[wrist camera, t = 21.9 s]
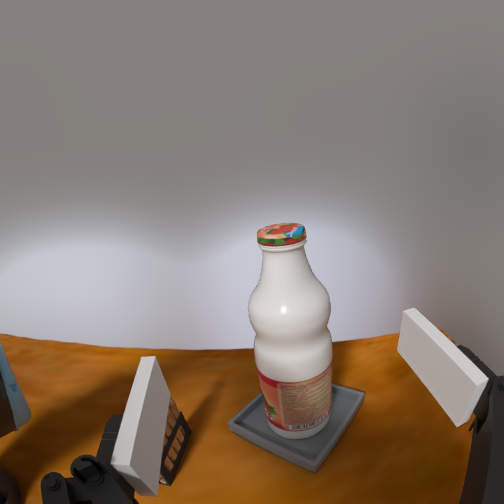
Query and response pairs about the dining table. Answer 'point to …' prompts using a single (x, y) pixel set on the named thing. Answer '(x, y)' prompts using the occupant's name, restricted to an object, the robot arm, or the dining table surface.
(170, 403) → the ammunition clip
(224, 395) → the dining table surface
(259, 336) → the white milk bottle
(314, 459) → the tray
